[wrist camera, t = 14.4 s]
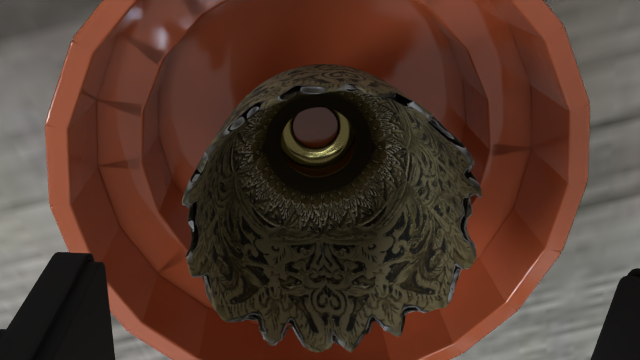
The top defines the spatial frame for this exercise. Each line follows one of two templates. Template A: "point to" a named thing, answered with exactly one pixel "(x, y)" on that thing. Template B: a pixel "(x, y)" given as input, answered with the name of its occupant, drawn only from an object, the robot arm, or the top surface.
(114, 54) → the bowl
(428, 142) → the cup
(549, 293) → the top surface
